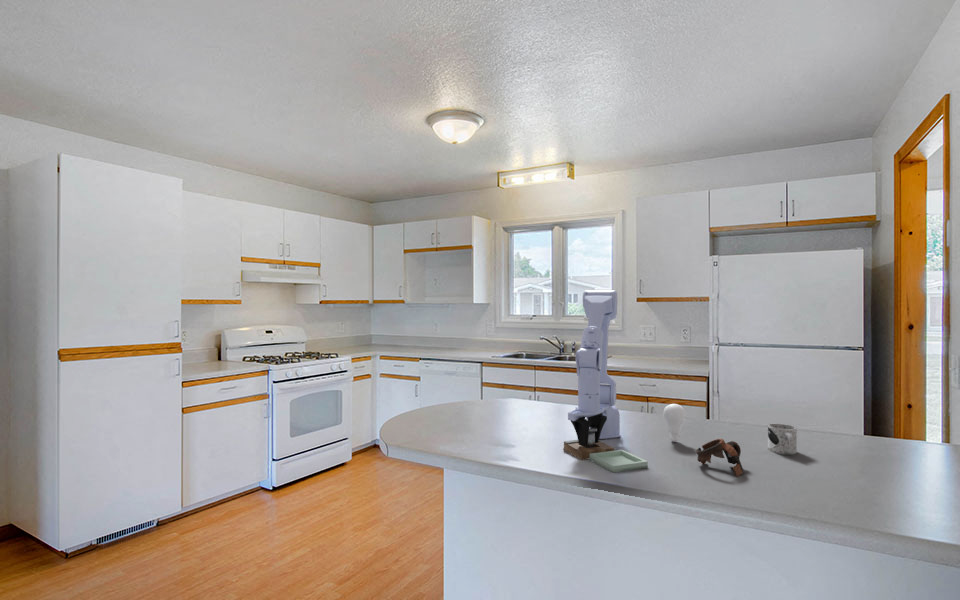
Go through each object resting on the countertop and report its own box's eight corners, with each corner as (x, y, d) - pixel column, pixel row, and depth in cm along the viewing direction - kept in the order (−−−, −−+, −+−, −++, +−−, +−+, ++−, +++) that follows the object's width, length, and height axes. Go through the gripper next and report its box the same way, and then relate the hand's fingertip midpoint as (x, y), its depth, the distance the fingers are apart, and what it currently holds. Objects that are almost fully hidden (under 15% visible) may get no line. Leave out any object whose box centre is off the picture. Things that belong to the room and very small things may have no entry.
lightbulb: (662, 443, 139) (663, 405, 139) (663, 438, 145) (663, 401, 145) (686, 446, 137) (686, 407, 137) (685, 440, 143) (685, 402, 143)
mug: (764, 446, 137) (764, 422, 137) (790, 448, 136) (790, 424, 136) (778, 457, 127) (778, 432, 127) (806, 459, 126) (806, 433, 126)
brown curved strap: (735, 482, 111) (715, 448, 113) (702, 488, 119) (684, 456, 121) (759, 459, 118) (740, 428, 120) (727, 466, 125) (709, 436, 127)
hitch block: (594, 445, 137) (594, 437, 137) (614, 455, 128) (614, 446, 128) (563, 449, 133) (563, 441, 133) (581, 459, 125) (581, 450, 125)
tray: (622, 455, 128) (622, 449, 128) (647, 467, 119) (647, 461, 119) (589, 459, 125) (589, 453, 125) (613, 472, 116) (613, 466, 116)
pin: (591, 449, 134) (591, 424, 134) (600, 454, 129) (600, 428, 129) (577, 451, 132) (577, 426, 132) (586, 456, 128) (586, 430, 128)
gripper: (594, 387, 138) (594, 435, 138) (559, 393, 129) (559, 444, 129) (615, 391, 133) (614, 441, 133) (579, 398, 124) (579, 451, 124)
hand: (588, 443), depth 131 cm, fingers closed on pin, 4 cm apart
